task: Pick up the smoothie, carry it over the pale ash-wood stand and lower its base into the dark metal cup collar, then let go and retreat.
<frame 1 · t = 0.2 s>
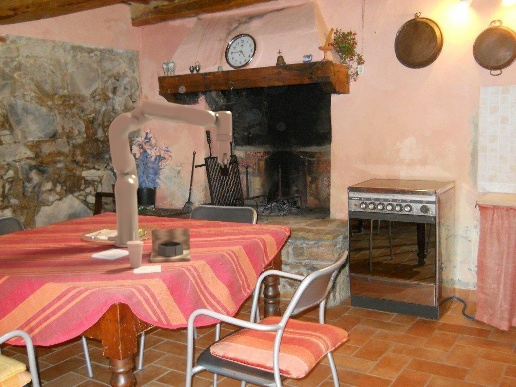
hand: (224, 175, 241), 31 cm above the table, tool pointing down, fingers open, 9 cm apart
smoothie: (135, 267, 201), on the table
holder: (170, 256, 217), on the table
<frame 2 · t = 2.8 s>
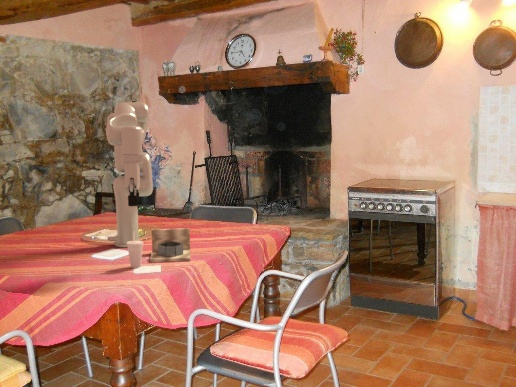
hand: (134, 204, 198), 24 cm above the table, tool pointing down, fingers open, 9 cm apart
nothing on the table moved.
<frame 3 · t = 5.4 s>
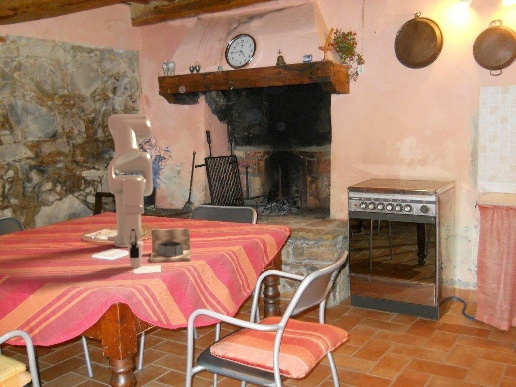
hand: (135, 255, 200), 5 cm above the table, tool pointing down, fingers closed on smoothie, 6 cm apart
smoothie: (135, 267, 201), on the table, touching gripper
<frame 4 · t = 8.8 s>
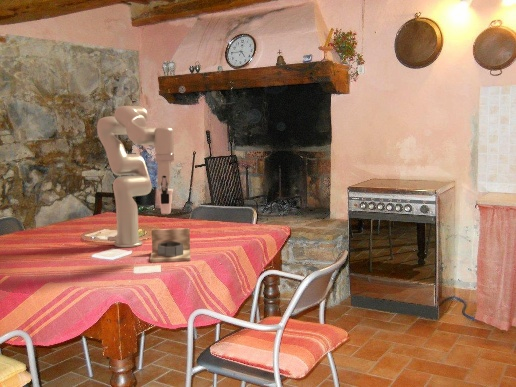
hand: (165, 201, 212), 23 cm above the table, tool pointing down, fingers closed on smoothie, 6 cm apart
smoothie: (165, 213, 213), point 18 cm above the table, touching gripper
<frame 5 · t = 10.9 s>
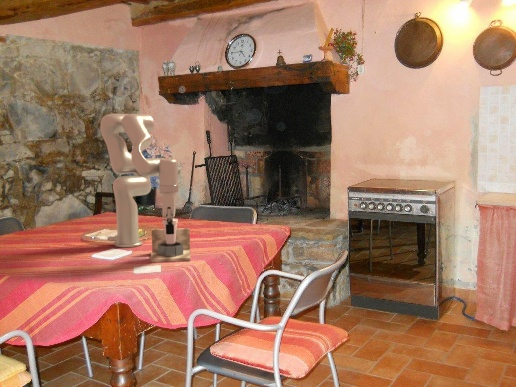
hand: (170, 232, 215), 10 cm above the table, tool pointing down, fingers closed on smoothie, 6 cm apart
smoothie: (170, 243, 216), point 6 cm above the table, touching gripper
when the fingers open (7 cm above the table, at t = 12.7 s): smoothie drops 1 cm, resting on holder.
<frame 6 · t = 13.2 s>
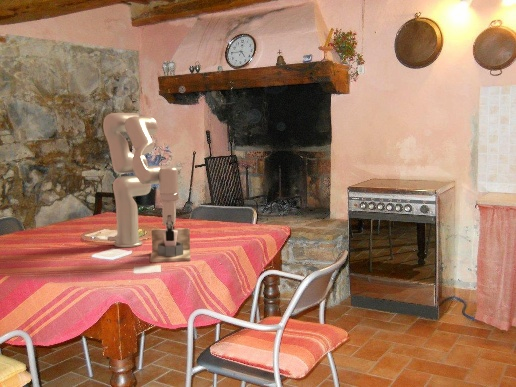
hand: (170, 238, 216), 8 cm above the table, tool pointing down, fingers open, 9 cm apart
smoothie: (170, 254, 216), point 1 cm above the table, touching holder
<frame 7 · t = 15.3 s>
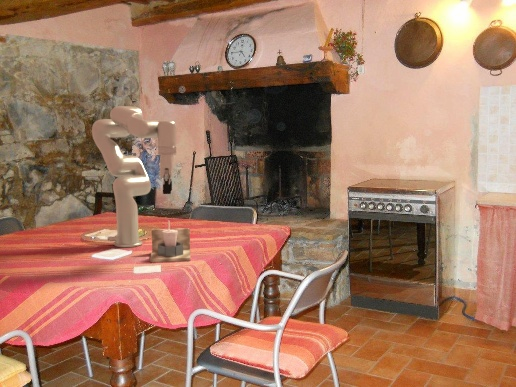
hand: (167, 192, 216), 27 cm above the table, tool pointing down, fingers open, 9 cm apart
nothing on the table moved.
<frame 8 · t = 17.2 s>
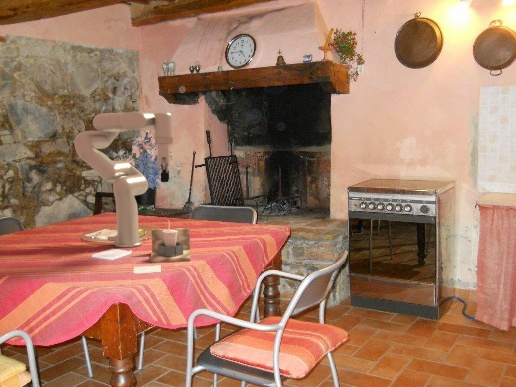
hand: (165, 180, 226), 30 cm above the table, tool pointing down, fingers open, 9 cm apart
nothing on the table moved.
at the end: smoothie 0.3 cm off-centre on the holder, point 1.0 cm above the holder's base; smoothie tilted 0°; the gripper is holding nothing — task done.
